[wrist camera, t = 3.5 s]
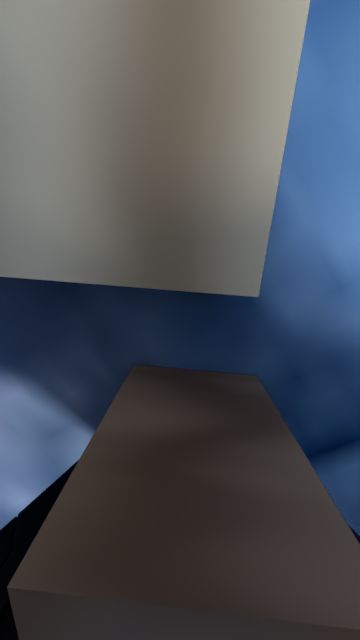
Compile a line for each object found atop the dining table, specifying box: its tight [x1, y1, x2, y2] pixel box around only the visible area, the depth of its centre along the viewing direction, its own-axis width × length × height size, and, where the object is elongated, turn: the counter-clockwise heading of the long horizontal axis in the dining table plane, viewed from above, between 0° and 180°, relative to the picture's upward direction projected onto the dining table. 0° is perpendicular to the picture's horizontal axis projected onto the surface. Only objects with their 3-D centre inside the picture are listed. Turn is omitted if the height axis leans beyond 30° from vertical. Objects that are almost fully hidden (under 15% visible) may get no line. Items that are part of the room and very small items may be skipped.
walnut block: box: [7, 364, 360, 640], centre depth 6 cm, size 5×5×6 cm
